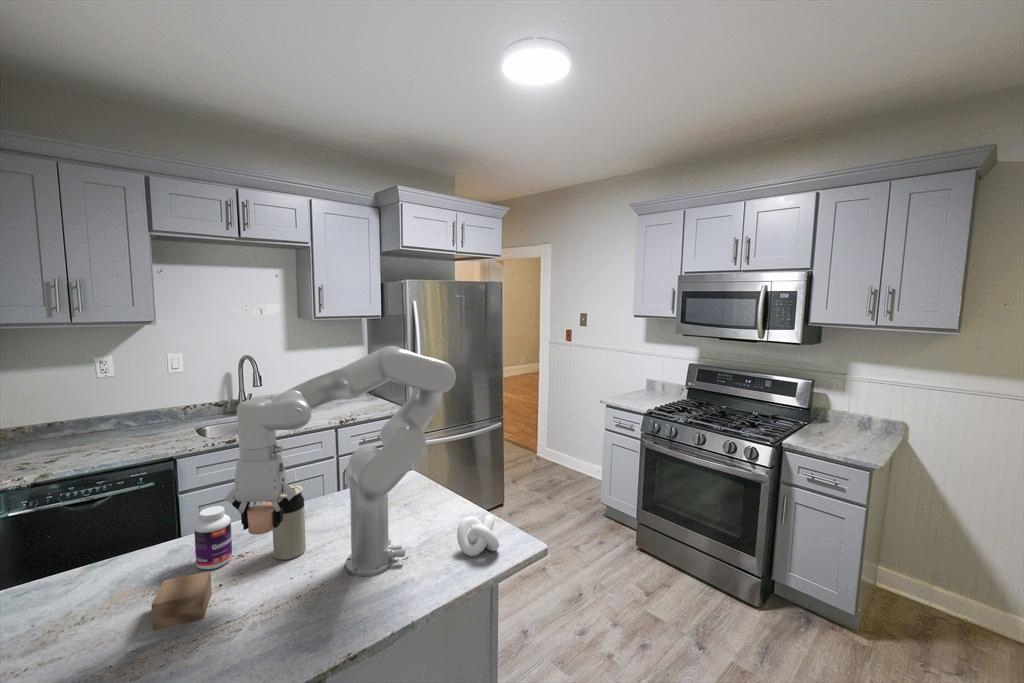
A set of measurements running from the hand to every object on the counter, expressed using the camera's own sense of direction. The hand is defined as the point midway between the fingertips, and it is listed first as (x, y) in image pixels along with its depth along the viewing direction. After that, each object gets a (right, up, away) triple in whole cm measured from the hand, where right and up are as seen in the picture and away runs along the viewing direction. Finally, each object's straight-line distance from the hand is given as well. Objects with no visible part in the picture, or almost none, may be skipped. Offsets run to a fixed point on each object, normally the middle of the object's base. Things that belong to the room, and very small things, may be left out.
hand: (262, 525), depth 106 cm
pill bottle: (-20, -16, +13) cm, 29 cm away
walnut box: (-15, -17, -5) cm, 24 cm away
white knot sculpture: (+51, -16, +21) cm, 57 cm away
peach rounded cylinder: (0, -1, 0) cm, 1 cm away
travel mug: (-3, -15, +18) cm, 24 cm away
